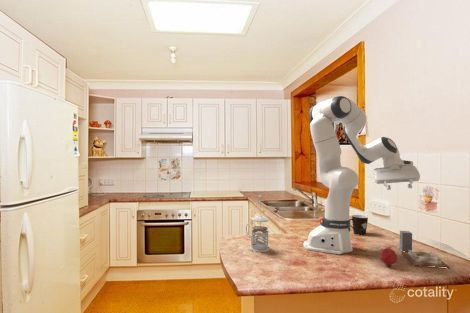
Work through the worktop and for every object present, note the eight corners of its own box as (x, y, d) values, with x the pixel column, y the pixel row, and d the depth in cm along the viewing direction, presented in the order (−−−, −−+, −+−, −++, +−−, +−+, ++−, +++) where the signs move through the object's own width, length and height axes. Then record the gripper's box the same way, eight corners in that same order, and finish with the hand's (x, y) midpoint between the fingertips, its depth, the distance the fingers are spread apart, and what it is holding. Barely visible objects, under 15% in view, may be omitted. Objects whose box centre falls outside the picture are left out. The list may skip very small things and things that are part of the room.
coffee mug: (364, 232, 166) (364, 215, 166) (370, 236, 158) (370, 218, 158) (344, 231, 167) (344, 214, 168) (348, 235, 159) (348, 217, 159)
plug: (402, 252, 131) (402, 232, 131) (399, 249, 135) (399, 230, 135) (412, 253, 130) (412, 233, 130) (409, 250, 134) (409, 231, 134)
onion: (388, 269, 110) (388, 248, 110) (377, 264, 115) (377, 244, 115) (400, 268, 111) (400, 247, 111) (388, 262, 117) (388, 243, 117)
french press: (269, 252, 127) (270, 197, 128) (244, 250, 130) (244, 196, 130) (271, 246, 137) (271, 194, 137) (247, 244, 139) (248, 193, 140)
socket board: (412, 265, 114) (412, 258, 114) (401, 254, 127) (401, 248, 127) (449, 269, 111) (449, 261, 111) (435, 257, 124) (435, 251, 124)
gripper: (372, 165, 152) (376, 186, 143) (416, 161, 145) (423, 183, 136) (372, 172, 156) (376, 193, 147) (414, 168, 149) (422, 190, 140)
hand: (399, 188), depth 142 cm, fingers open, 8 cm apart
